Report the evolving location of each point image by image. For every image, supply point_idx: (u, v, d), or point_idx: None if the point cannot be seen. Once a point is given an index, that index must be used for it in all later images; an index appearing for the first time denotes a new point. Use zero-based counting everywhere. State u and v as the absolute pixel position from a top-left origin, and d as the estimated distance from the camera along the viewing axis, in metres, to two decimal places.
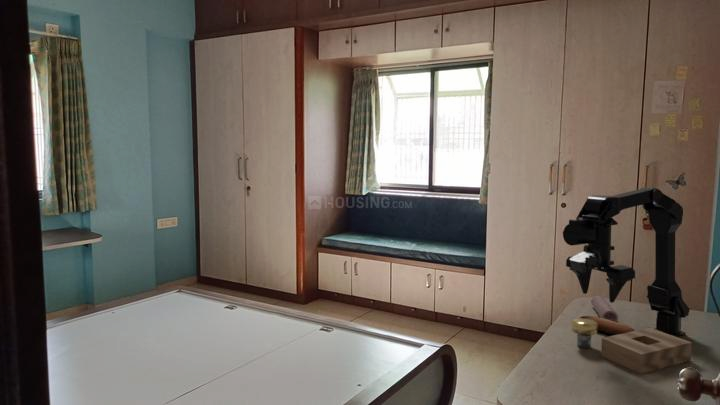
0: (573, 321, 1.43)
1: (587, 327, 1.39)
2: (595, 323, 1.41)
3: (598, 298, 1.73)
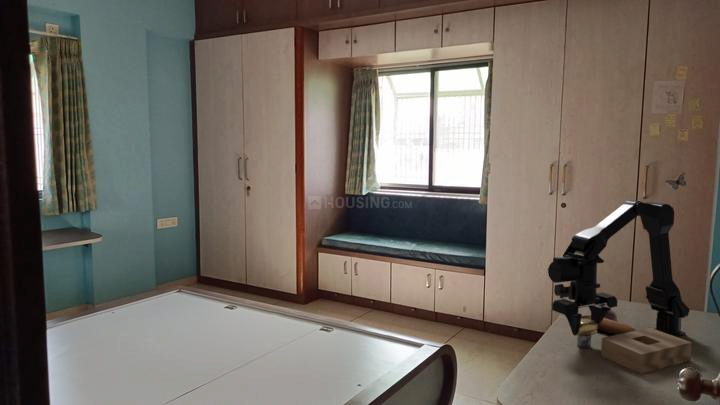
0: None
1: (588, 327, 1.39)
2: (595, 323, 1.41)
3: None
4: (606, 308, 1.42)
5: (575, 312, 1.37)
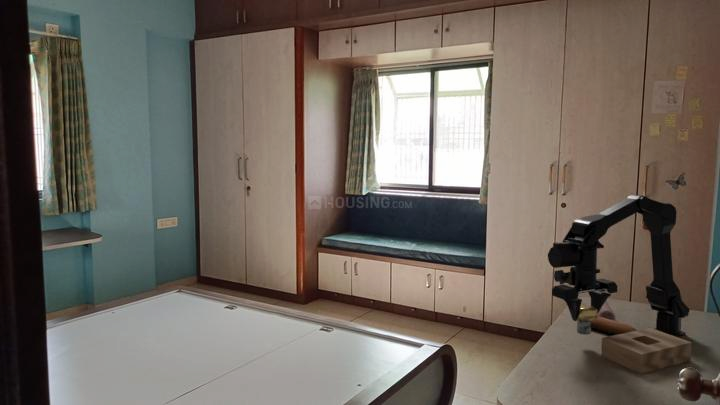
0: None
1: (587, 312, 1.39)
2: (595, 309, 1.41)
3: None
4: (606, 294, 1.42)
5: (575, 297, 1.36)
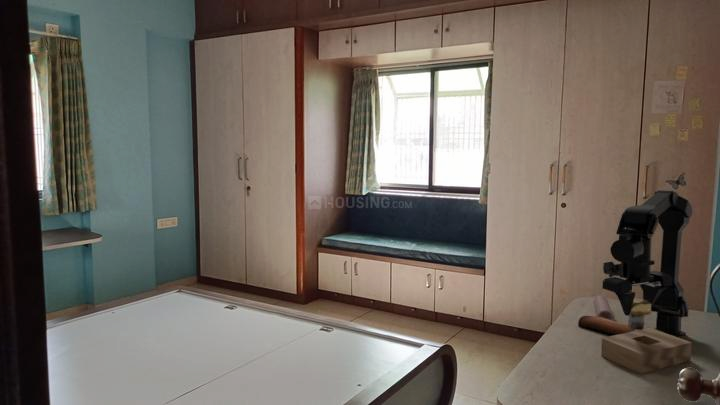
0: None
1: (641, 306, 1.31)
2: (649, 303, 1.33)
3: (599, 298, 1.73)
4: (660, 287, 1.34)
5: (628, 290, 1.28)
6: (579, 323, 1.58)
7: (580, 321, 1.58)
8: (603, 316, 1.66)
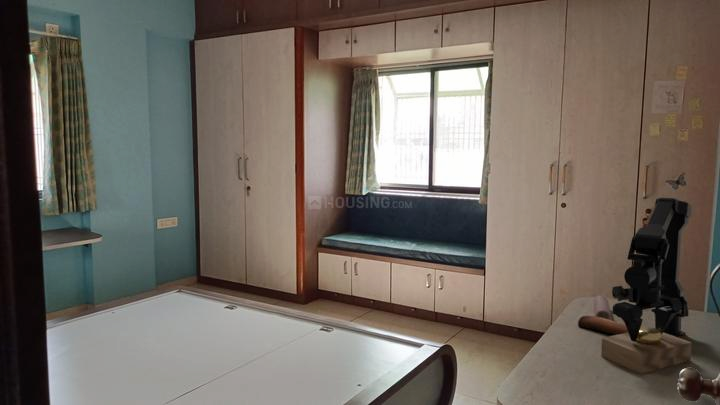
0: None
1: (651, 336, 1.30)
2: (658, 332, 1.32)
3: (599, 298, 1.73)
4: (673, 311, 1.33)
5: (639, 316, 1.27)
6: (578, 323, 1.58)
7: (580, 321, 1.58)
8: (602, 316, 1.66)
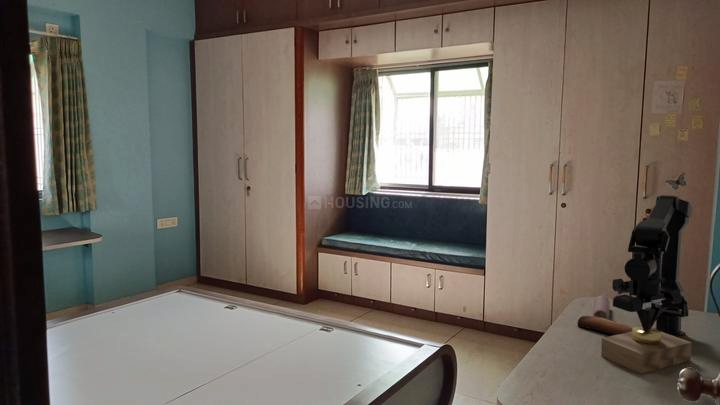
0: (634, 330, 1.34)
1: (651, 336, 1.30)
2: (658, 332, 1.32)
3: (599, 298, 1.73)
4: (661, 306, 1.32)
5: (639, 308, 1.27)
6: (578, 323, 1.58)
7: (579, 321, 1.58)
8: (601, 316, 1.66)
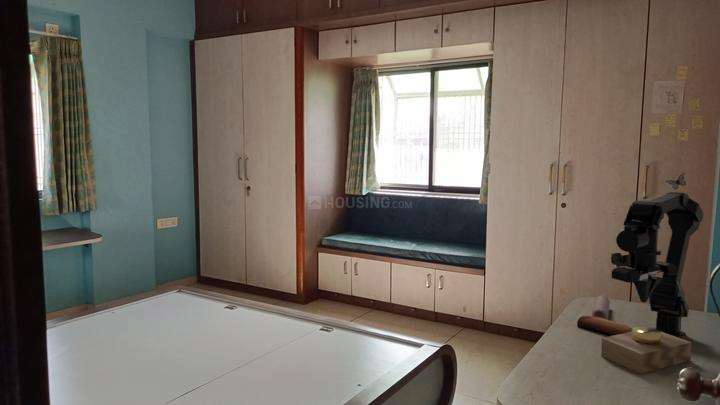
0: (634, 330, 1.34)
1: (651, 336, 1.30)
2: (658, 332, 1.32)
3: (599, 298, 1.73)
4: (657, 278, 1.39)
5: (637, 279, 1.34)
6: (578, 323, 1.58)
7: (579, 321, 1.58)
8: (600, 316, 1.66)
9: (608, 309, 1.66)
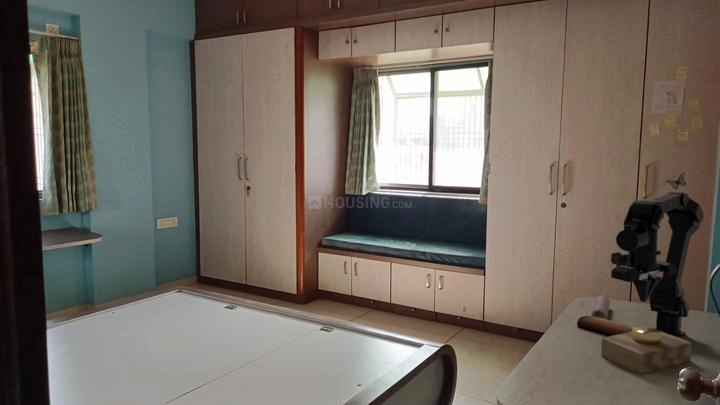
0: (634, 330, 1.34)
1: (651, 336, 1.30)
2: (658, 332, 1.32)
3: (599, 298, 1.73)
4: (657, 277, 1.39)
5: (636, 279, 1.34)
6: (578, 323, 1.58)
7: (579, 321, 1.58)
8: (600, 315, 1.67)
9: (608, 309, 1.66)
